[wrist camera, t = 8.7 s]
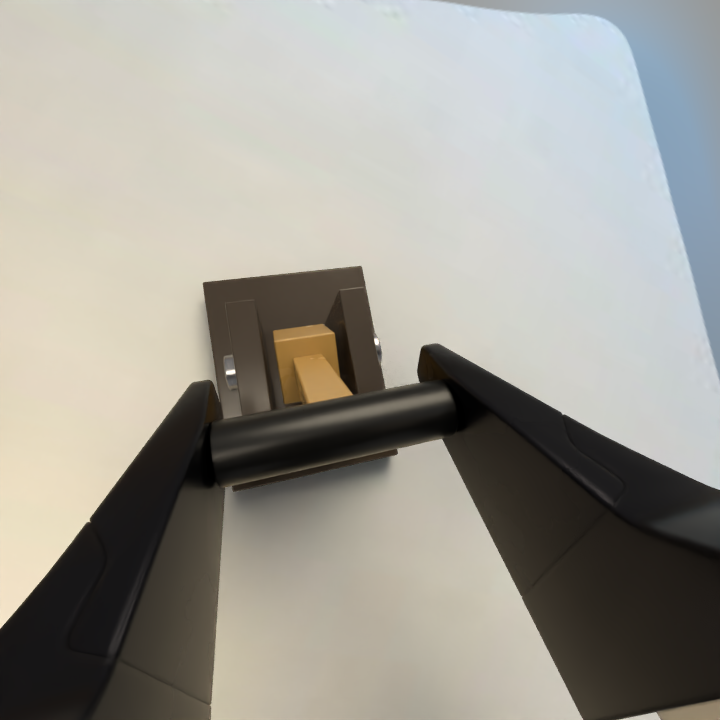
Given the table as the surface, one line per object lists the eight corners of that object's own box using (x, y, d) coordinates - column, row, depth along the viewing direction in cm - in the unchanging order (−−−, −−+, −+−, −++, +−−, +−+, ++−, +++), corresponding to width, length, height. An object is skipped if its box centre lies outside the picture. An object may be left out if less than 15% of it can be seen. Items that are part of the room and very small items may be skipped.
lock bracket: (392, 451, 19) (441, 471, 13) (236, 487, 17) (207, 528, 11) (357, 273, 20) (388, 212, 14) (207, 290, 18) (167, 229, 12)
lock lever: (461, 468, 8) (457, 363, 7) (224, 527, 7) (196, 409, 6) (360, 370, 16) (354, 319, 16) (248, 389, 15) (237, 335, 15)
